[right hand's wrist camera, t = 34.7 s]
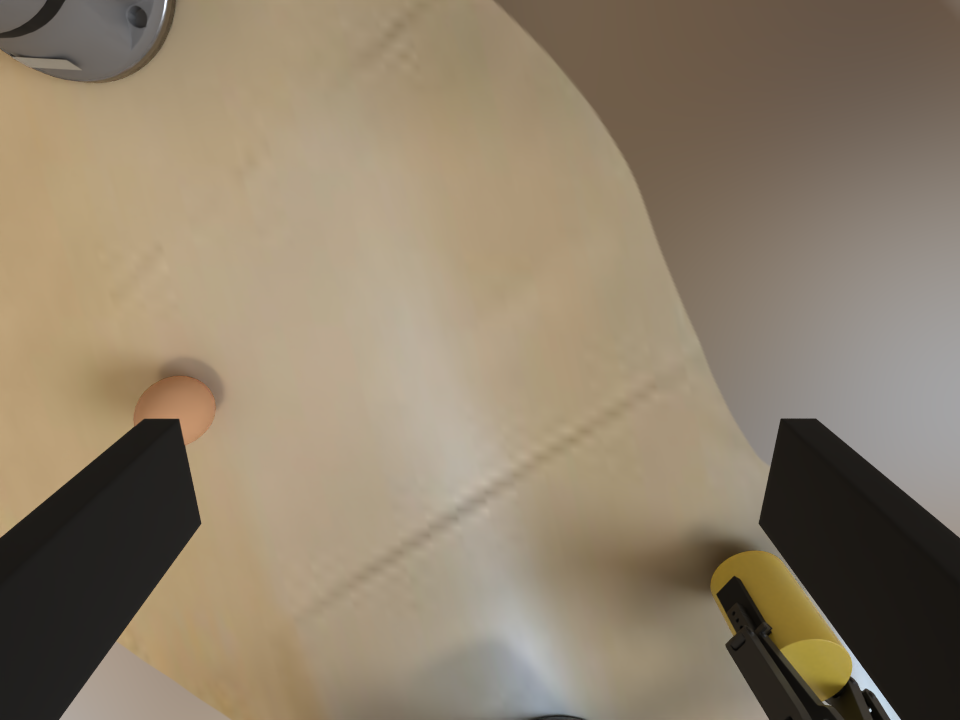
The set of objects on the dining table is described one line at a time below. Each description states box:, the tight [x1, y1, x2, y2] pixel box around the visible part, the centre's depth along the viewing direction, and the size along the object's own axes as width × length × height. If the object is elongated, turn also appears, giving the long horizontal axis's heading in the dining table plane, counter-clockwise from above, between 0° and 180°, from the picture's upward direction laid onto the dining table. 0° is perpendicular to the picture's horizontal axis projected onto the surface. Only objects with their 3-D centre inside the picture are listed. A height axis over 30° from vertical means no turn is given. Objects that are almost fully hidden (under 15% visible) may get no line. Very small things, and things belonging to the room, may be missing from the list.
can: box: [711, 551, 852, 701], centre depth 55 cm, size 8×8×11 cm
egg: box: [134, 376, 216, 445], centre depth 50 cm, size 6×6×8 cm
